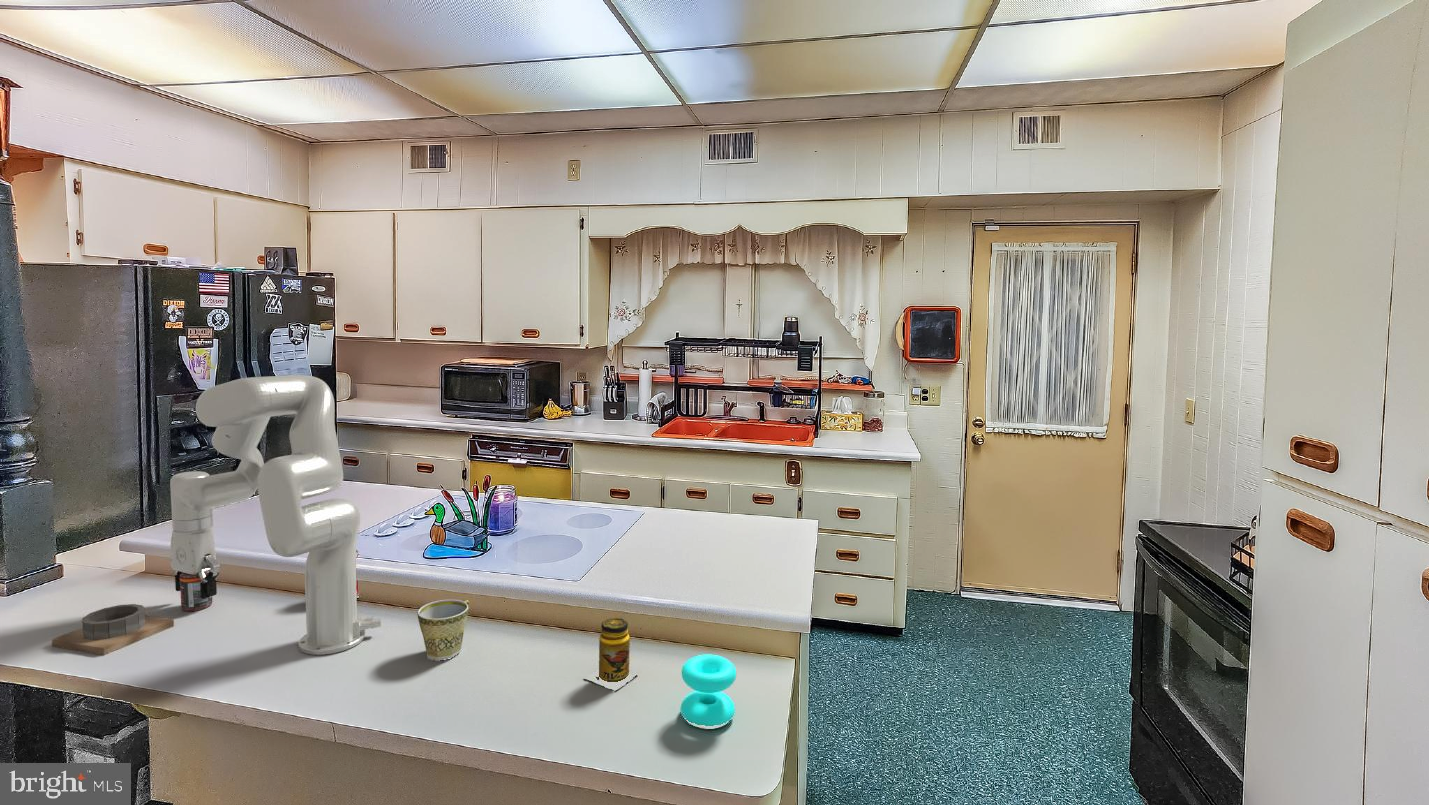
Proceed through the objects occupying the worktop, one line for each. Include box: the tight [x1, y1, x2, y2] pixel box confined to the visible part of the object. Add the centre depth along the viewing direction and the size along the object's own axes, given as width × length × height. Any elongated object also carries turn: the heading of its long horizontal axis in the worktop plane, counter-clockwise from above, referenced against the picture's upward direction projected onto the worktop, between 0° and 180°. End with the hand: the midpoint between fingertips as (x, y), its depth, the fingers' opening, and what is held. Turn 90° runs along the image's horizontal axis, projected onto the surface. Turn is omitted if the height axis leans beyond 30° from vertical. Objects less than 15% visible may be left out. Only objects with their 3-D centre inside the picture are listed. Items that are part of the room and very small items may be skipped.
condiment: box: [598, 617, 631, 682], centre depth 131 cm, size 7×8×12 cm
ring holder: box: [51, 603, 175, 656], centre depth 141 cm, size 14×14×5 cm
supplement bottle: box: [179, 567, 213, 612], centre depth 156 cm, size 6×6×11 cm
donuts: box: [680, 654, 737, 726], centre depth 118 cm, size 10×10×10 cm
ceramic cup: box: [417, 599, 471, 662], centre depth 139 cm, size 13×10×10 cm
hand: (196, 592), depth 156 cm, fingers open, 9 cm apart
